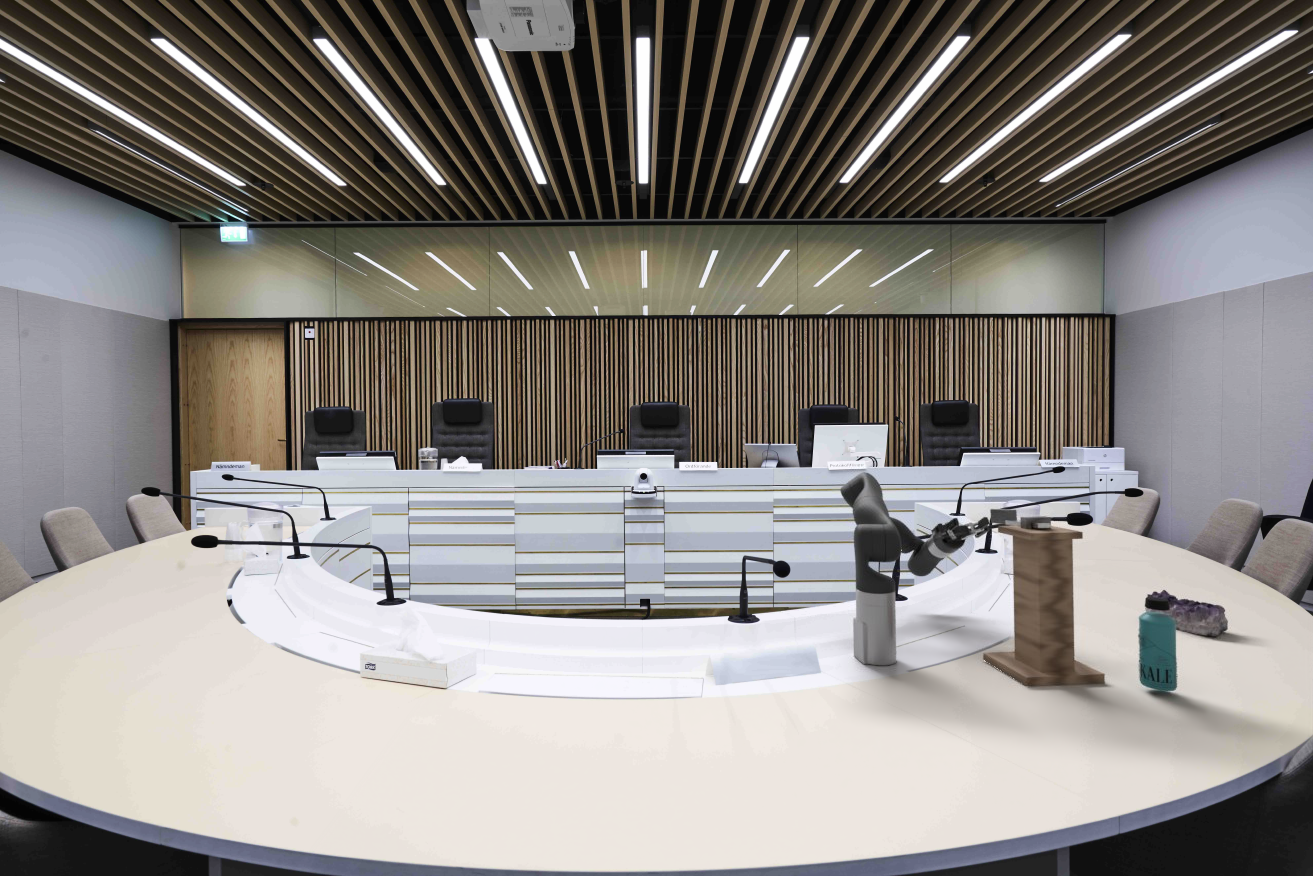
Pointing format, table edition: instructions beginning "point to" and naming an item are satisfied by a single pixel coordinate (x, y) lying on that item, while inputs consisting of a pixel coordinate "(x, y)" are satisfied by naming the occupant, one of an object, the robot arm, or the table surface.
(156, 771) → the table surface
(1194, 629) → the geode
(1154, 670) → the beverage bottle
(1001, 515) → the steel bar
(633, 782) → the table surface
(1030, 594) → the walnut pedestal
